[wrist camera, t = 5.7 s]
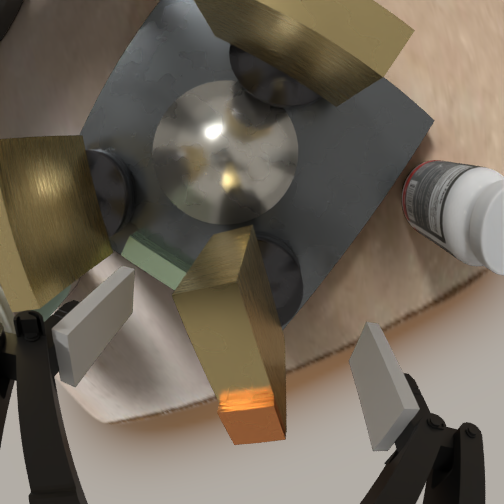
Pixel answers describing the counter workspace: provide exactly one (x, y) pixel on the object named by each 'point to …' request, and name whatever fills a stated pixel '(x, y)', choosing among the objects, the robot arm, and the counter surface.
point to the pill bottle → (458, 210)
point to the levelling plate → (241, 153)
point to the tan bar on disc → (243, 327)
